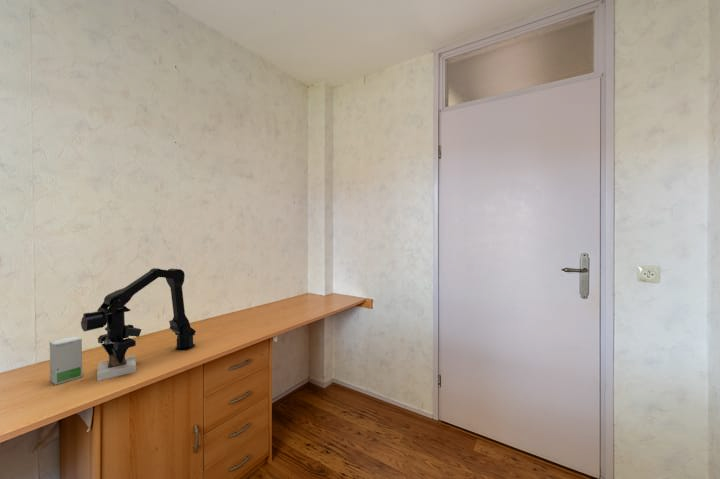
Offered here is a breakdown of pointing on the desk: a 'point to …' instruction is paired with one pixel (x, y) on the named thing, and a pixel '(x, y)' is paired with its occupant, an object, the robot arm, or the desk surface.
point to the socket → (116, 369)
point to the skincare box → (65, 359)
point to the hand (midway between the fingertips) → (117, 361)
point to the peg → (115, 361)
